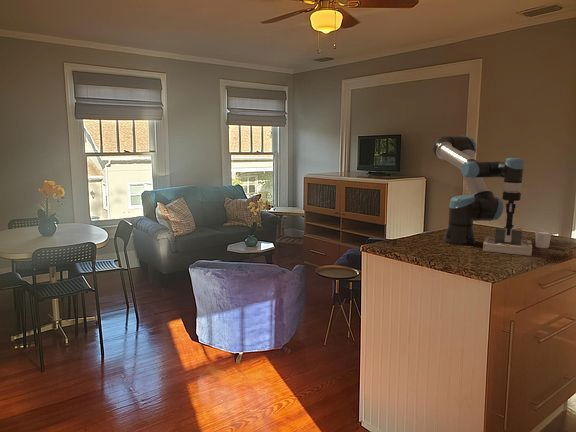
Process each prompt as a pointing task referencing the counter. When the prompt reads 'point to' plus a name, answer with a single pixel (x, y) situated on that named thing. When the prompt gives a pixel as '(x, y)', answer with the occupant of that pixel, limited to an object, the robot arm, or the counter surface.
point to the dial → (514, 237)
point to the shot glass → (542, 239)
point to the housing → (508, 247)
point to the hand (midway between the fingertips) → (507, 241)
